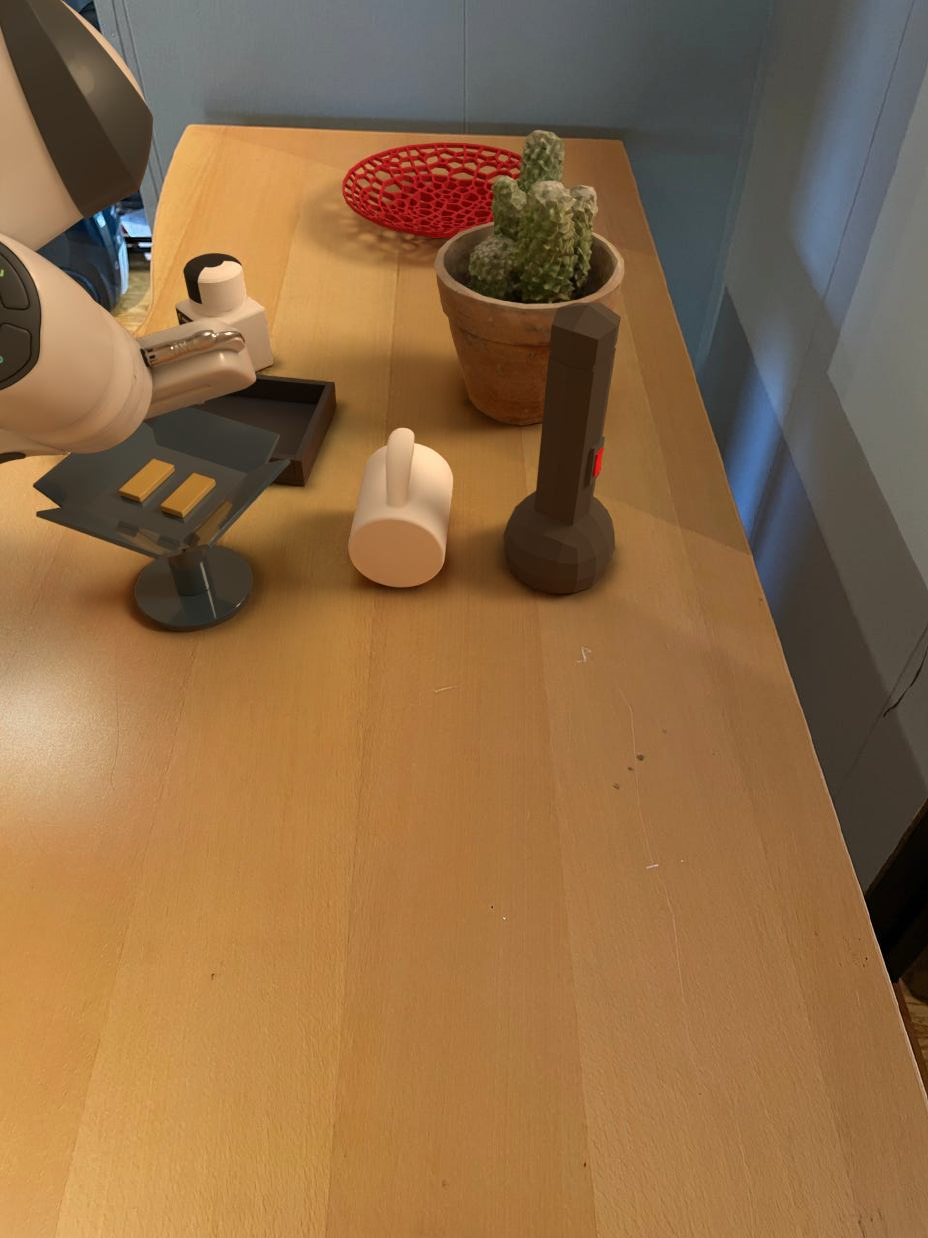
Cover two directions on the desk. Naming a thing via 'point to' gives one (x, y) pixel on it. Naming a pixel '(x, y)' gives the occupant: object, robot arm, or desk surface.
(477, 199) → the bowl
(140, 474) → the orange rectangular block
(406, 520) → the mug
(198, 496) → the key
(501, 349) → the potted plant
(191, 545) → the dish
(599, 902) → the desk surface
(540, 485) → the flashlight
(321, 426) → the tray
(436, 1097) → the desk surface
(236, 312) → the medicine bottle
